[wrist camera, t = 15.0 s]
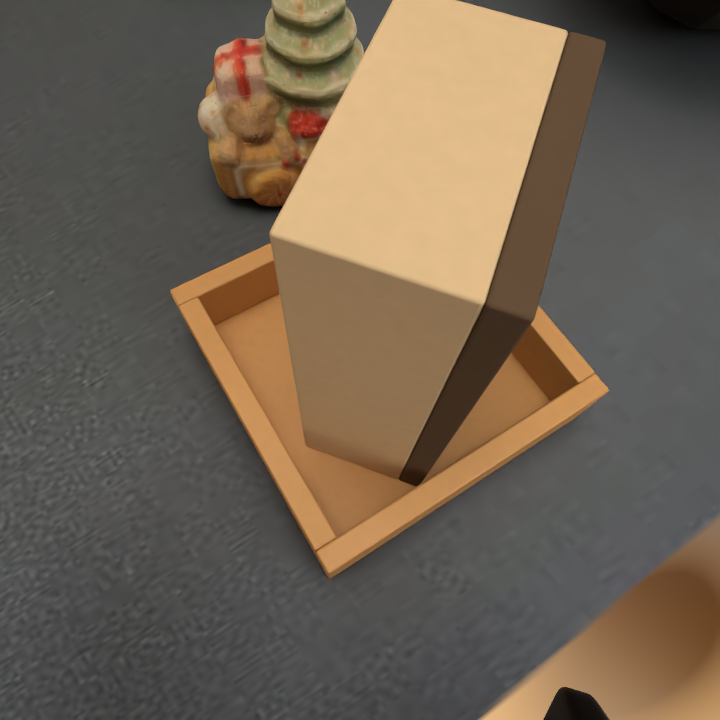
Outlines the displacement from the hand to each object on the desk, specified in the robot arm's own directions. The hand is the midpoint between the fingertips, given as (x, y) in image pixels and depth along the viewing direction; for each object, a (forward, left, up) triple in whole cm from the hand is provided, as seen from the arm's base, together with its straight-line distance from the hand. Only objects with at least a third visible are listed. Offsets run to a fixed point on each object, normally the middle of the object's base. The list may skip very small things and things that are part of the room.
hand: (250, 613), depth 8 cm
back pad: (+5, -7, -11) cm, 14 cm away
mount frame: (+6, -7, -12) cm, 15 cm away
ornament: (+18, -10, -12) cm, 24 cm away
